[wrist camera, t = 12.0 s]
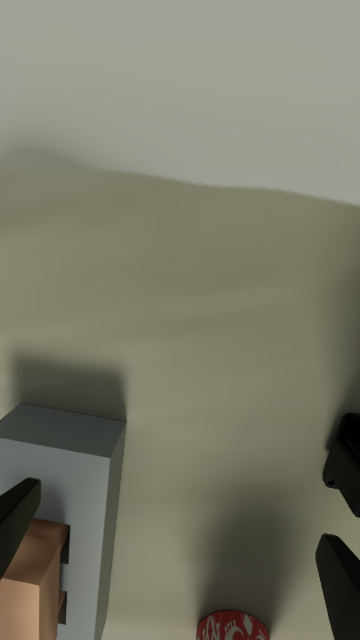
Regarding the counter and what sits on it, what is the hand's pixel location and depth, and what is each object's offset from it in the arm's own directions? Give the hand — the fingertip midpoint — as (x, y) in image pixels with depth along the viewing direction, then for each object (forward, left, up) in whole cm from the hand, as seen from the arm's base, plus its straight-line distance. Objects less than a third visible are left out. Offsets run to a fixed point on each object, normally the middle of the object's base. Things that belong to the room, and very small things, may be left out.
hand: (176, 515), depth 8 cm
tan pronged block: (+9, +18, -11) cm, 23 cm away
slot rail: (+9, +18, -12) cm, 23 cm away
